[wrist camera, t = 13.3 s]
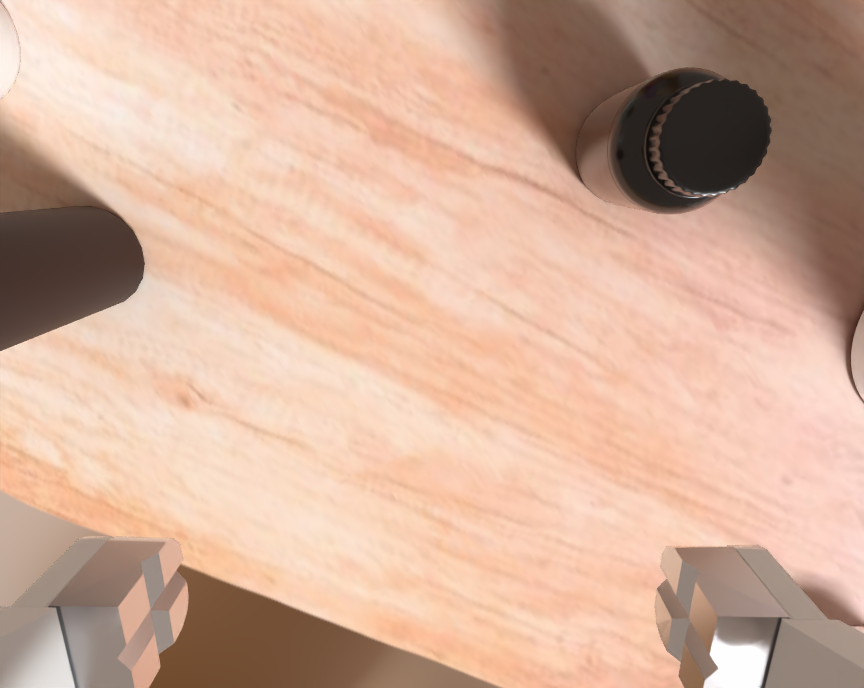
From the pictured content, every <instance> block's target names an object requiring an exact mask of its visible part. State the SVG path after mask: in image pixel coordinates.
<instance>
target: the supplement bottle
mask: <svg viewBox="0 0 864 688" xmlns="http://www.w3.org/2000/svg"><path fill="white" fill-rule="evenodd" d="M770 122H771V118H770V116H769V115H768V108H767V107H766V106H765V105H764V101H763V98H761V97H759V96H758V95H757V92H756V91H755V90H753V89H750V88H749V86H748V85H747V84H741V83H739V82H738V81H737V80H734V81H730V80H728V79H726V78H725V77H723V76H721V75H719V74H717V73H715V72H713V71H710V70H706V69H701V68H679V69H674V70H670V71H667V72H664V73H661V74H658V75H656V76H654V77H652V78H650V79H647V80H645V81H643V82H641V83H639V84H637V85H634V86H632V87H630V88H628V89H626V90H624V91H621V92H619V93H617V94H615V95H613V96H612V97H610V98H608V99H606V100H605V101H604V102H602V103H601V104H600V105H599V106H597V107H596V108H595V109H594V110H593V111H592V113H591V114H590V115H589V116H588V118H587V119H586V121H585V123H584V124H583V126H582V128H581V131H580V133H579V136H578V140H577V145H576V163H577V168H578V171H579V174H580V176H581V179H582V180H583V182H584V184H585V185H586V187H587V188H588V189H589V190H590V191H591V192H592V193H593V194H594V195H596V196H597V197H598V198H600V199H602V200H604V201H606V202H608V203H612V204H615V205H619V206H624V207H629V208H634V209H639V210H644V211H649V212H654V213H660V214H680V213H686V212H690V211H693V210H696V209H699V208H701V207H703V206H705V205H707V204H709V203H710V202H712V201H714V200H715V199H716V198H718V197H719V196H720V195H722V194H725V193H727V192H728V191H729V190H734V189H736V188H737V187H738V186H739V185H740V184H743V183H745V182H746V181H747V179H748V178H749V177H750V176H752V175H753V174H754V173H755V171H756V168H757V167H759V166H760V165H761V163H762V159H763V157H764V156H765V155H766V154H767V147H768V145H769V143H770V134H771V131H772V130H771V127H770Z"/></svg>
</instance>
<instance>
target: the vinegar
mask: <svg viewBox="0 0 864 688" xmlns="http://www.w3.org/2000/svg"><path fill="white" fill-rule="evenodd" d="M144 265H145V263H144V257H143V252H142V248H141V246H140V244H139V242H138V240H137V238H136V236H135V234H134V232H133V231H132V230H131V229H130V228H129V227H128V226H127V225H126V224H125V223H124V222H123V220H121V219H119V218H118V217H116V216H115V215H113V214H111V213H110V212H108V211H105V210H102V209H98V208H95V207H92V206H75V207H63V208H52V209H40V210H29V211H17V212H6V213H0V351H2V350H4V349H7V348H9V347H12V346H14V345H17V344H19V343H22V342H24V341H27V340H29V339H32V338H34V337H37V336H39V335H42V334H44V333H47V332H49V331H52V330H54V329H57V328H59V327H62V326H64V325H67V324H69V323H72V322H74V321H76V320H79V319H81V318H84V317H86V316H89V315H91V314H94V313H96V312H99V311H101V310H104V309H106V308H109V307H111V306H114V305H116V304H119V303H121V302H124V301H125V300H126V299H128V298H129V297H130V296H131V295H132V294H133V293H135V291H136V290H137V288H138V286H139V284H140V282H141V281H142V279H143V272H144Z"/></svg>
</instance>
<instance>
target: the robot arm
mask: <svg viewBox="0 0 864 688" xmlns="http://www.w3.org/2000/svg"><path fill="white" fill-rule="evenodd" d="M851 367H852V374H853V378H854V382H855V385H856V387H857V390H858V392H859V394H860V396H861V397H862V399H863V400H864V311H863V313H862V315H861V317H860V320H859V322H858V325H857V327H856V331H855V334H854V338H853V343H852V350H851ZM182 561H183V556H182V551H181V546H180V543H179V542H178V541H177V540H175V539H172V538H145V537H118V536H117V537H112V536H86V537H83V538H80V539H78V540H77V541H76V542H75V543H74V544H73V545H72V546H71V547H70V548H69V549H68V550H67V551H66V552H65V553H64V554H63V555H62V556H61V557H60V558H59V559H58V560H57V561H56V562H55V563H54V564H53V565H52V566H51V567H50V568H49V569H48V570H47V571H46V572H45V573H44V574H43V575H42V576H41V577H40V578H39V579H38V580H37V581H36V582H35V583H34V584H33V585H32V586H31V587H30V588H29V589H28V590H27V591H26V592H25V593H24V594H23V595H22V596H21V597H20V598H19V599H18V600H17V601H16V602H15V603H14V604H13V605H12V606H11V607H0V688H149V686H150V685H151V683H152V681H153V679H154V678H155V676H156V674H157V672H158V671H159V669H160V661H159V655H158V654H159V653H161V652H162V651H164V650H165V649H166V648H168V647H169V646H171V645H172V644H173V643H174V642H175V640H176V639H177V637H178V635H179V633H180V631H181V629H182V627H183V624H184V620H185V617H186V613H187V609H188V588H187V582H186V581H185V580H184V579H183V577H182V576H180V574H179V573H178V572H177V571H176V570H177V568H178V567H179V565H180V564H181V562H182ZM660 567H661V569H662V571H663V573H664V574H665V576H666V578H667V579H666V580H665V581H664V582H663V583H662V584H661V585H660V586H659V587H658V588H657V590H656V599H655V614H656V624H657V627H658V630H659V634H660V637H661V640H662V642H663V644H664V646H665V648H666V650H667V652H669V653H670V654H671V655H672V656H674V657H675V658H676V659H678V660H679V661H680V662H681V664H680V670H679V678H680V680H681V682H682V684H683V686H684V688H864V633H862V632H860V631H858V630H857V629H855V628H853V627H851V626H849V625H848V624H846V623H844V622H842V621H840V620H832V619H828V618H827V617H826V616H825V615H824V614H823V613H822V612H821V610H820V609H819V608H818V607H817V606H816V605H815V604H814V602H813V601H812V600H811V599H810V598H809V597H808V596H807V595H806V593H805V592H804V591H803V590H802V589H801V588H800V587H799V585H798V584H797V583H796V582H795V581H794V580H793V579H792V578H791V576H790V575H789V574H788V573H787V572H786V571H785V570H784V568H783V567H782V566H781V565H780V564H779V563H778V562H777V561H776V559H775V558H774V557H773V556H772V555H771V554H770V553H769V551H768V550H767V549H765V548H763V547H761V546H759V545H729V546H727V547H715V546H666V548H665V550H664V552H663V554H662V559H661V565H660Z"/></svg>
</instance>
